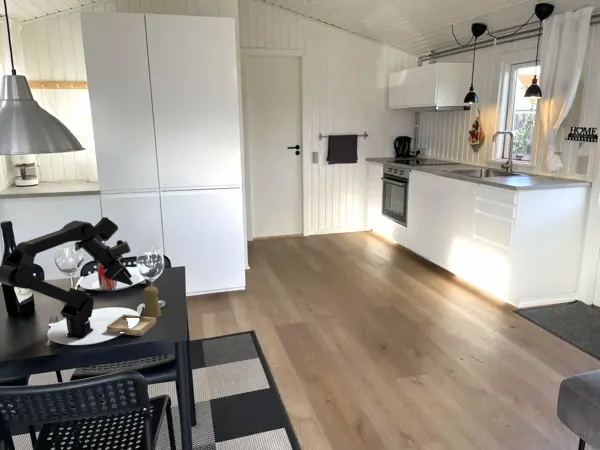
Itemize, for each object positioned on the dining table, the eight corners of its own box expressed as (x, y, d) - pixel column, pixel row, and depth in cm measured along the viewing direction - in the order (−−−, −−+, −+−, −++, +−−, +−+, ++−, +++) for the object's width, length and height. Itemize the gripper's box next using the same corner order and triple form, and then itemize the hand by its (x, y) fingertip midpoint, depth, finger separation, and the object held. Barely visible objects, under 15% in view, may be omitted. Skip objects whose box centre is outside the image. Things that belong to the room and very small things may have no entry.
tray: (107, 331, 154) (106, 326, 154) (124, 319, 163) (123, 314, 163) (141, 336, 151) (140, 330, 151) (156, 323, 160) (156, 317, 160)
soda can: (100, 286, 193) (97, 259, 190) (118, 284, 195) (115, 257, 192) (98, 292, 187) (95, 265, 184) (117, 290, 189) (114, 263, 186)
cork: (143, 313, 168) (141, 285, 165) (160, 310, 170) (158, 283, 167) (144, 320, 162) (141, 292, 159) (162, 317, 164) (159, 289, 162)
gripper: (116, 239, 147) (150, 271, 153) (116, 229, 164) (146, 259, 170) (89, 263, 145) (125, 294, 151) (91, 250, 162) (123, 279, 168)
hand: (131, 280), depth 160 cm, fingers open, 9 cm apart
